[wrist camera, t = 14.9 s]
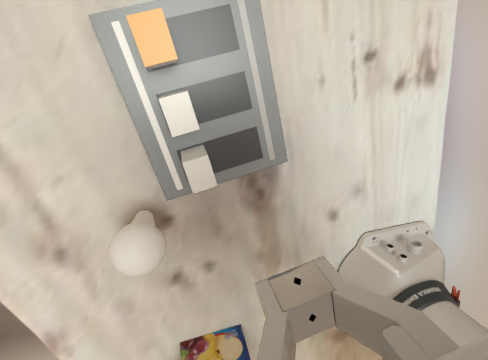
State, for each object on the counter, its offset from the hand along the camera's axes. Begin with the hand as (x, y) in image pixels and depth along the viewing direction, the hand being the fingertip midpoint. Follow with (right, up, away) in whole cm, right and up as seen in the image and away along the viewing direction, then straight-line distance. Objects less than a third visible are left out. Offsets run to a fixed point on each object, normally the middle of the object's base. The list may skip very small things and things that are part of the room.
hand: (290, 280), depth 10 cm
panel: (-7, +14, +22) cm, 28 cm away
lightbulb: (-16, -1, +26) cm, 31 cm away
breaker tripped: (-11, +19, +17) cm, 28 cm away
